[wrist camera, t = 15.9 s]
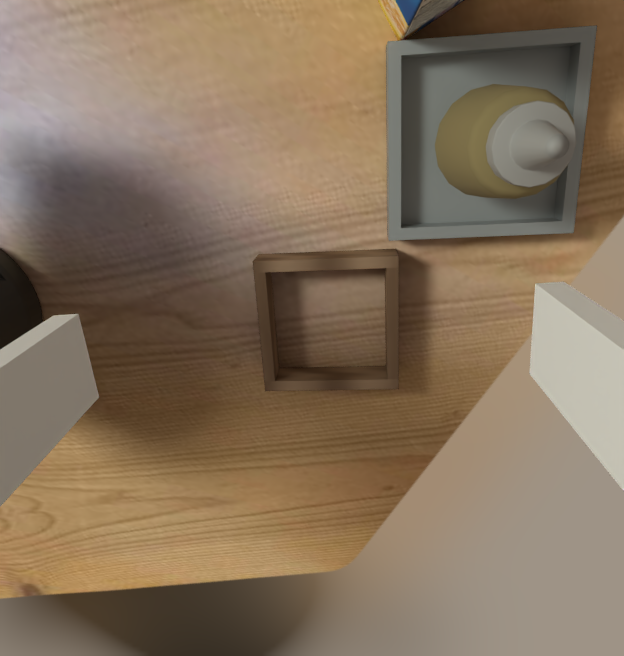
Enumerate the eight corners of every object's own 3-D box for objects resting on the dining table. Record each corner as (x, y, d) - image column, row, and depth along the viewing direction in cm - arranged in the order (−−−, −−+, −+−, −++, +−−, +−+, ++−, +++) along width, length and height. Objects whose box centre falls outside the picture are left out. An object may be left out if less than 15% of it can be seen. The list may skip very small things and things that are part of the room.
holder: (270, 377, 53) (265, 391, 50) (258, 254, 48) (252, 261, 45) (396, 375, 51) (398, 389, 49) (396, 248, 47) (398, 256, 44)
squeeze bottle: (474, 212, 45) (544, 259, 28) (407, 145, 43) (440, 151, 27) (550, 139, 42) (678, 141, 26) (483, 64, 41) (571, 15, 24)
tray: (387, 235, 47) (389, 240, 44) (386, 46, 42) (387, 41, 39) (562, 227, 45) (573, 232, 43) (583, 31, 40) (596, 25, 38)
